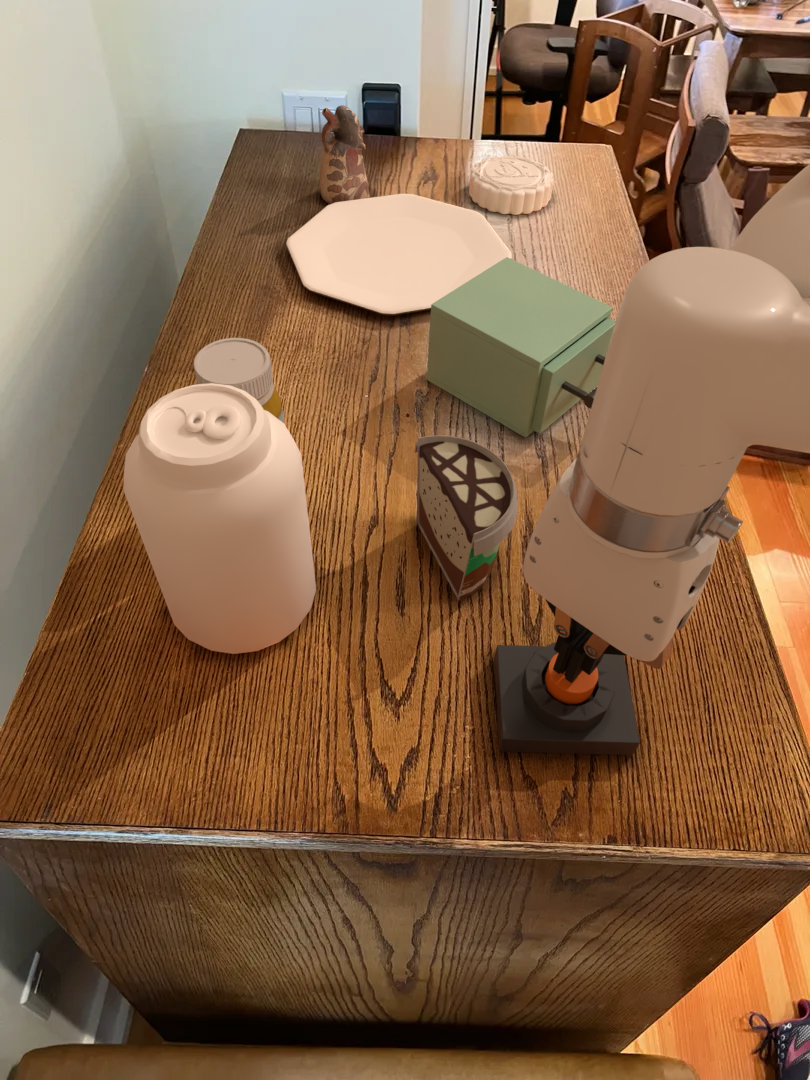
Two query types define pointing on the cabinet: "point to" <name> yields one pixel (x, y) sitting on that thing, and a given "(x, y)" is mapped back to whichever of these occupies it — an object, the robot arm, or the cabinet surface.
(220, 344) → the bottle
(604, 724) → the block
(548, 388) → the green cabinet drawer
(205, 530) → the can
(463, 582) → the food container
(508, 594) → the cabinet surface
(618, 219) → the cabinet surface
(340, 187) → the figurine
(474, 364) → the green drawer box
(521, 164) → the mooncake
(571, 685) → the button
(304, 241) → the plate
